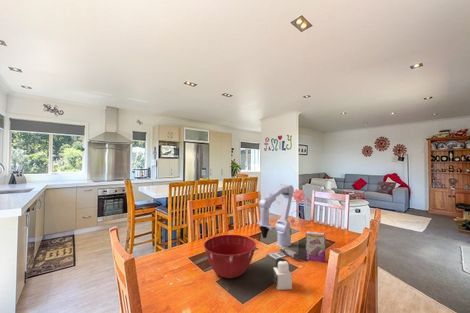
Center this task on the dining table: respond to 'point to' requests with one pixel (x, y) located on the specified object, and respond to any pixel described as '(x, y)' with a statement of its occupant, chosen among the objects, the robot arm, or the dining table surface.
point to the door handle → (290, 252)
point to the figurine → (298, 196)
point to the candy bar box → (315, 246)
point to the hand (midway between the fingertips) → (264, 237)
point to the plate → (274, 258)
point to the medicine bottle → (282, 275)
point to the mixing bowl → (229, 254)
